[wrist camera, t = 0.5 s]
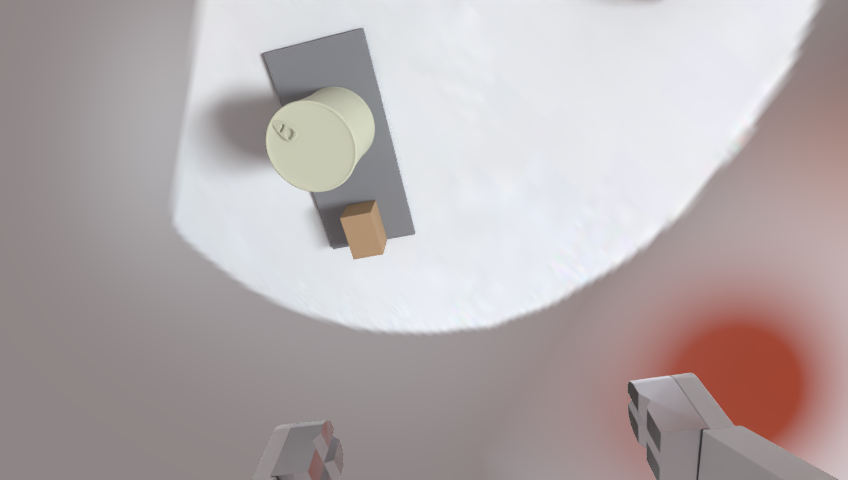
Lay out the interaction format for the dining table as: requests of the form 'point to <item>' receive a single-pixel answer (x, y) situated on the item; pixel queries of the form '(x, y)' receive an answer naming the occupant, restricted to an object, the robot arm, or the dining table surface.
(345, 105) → the can
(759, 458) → the robot arm
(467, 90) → the dining table surface
